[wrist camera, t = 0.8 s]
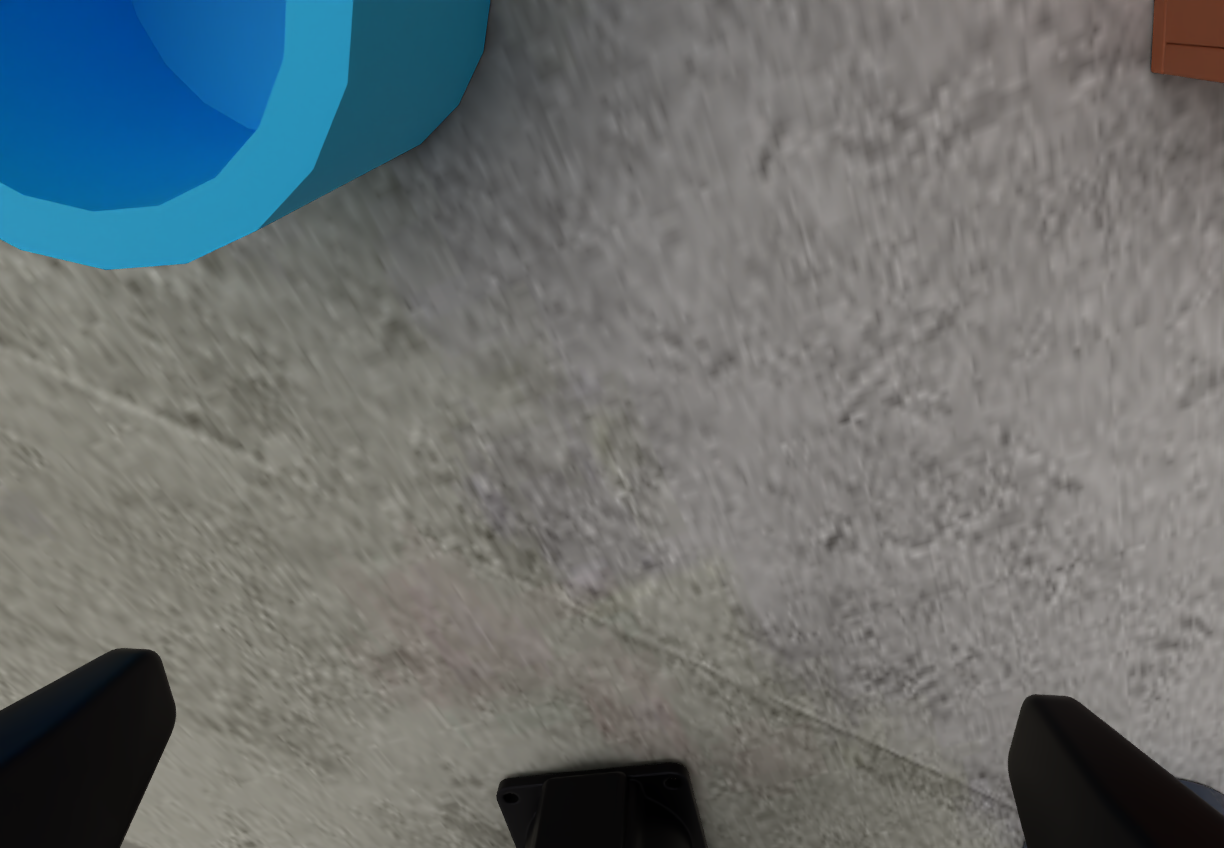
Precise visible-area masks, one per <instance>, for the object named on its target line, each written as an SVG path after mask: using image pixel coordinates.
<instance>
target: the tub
mask: <svg viewBox="0 0 1224 848" xmlns="http://www.w3.org/2000/svg"><path fill="white" fill-rule="evenodd" d="M1151 71H1152V72H1153V73H1159V74H1167V75H1174V76H1181V77H1187V78H1194V79H1201V80H1207V81H1214V82H1220V83H1224V0H1155V1H1154V22H1153V43H1152V64H1151Z"/></svg>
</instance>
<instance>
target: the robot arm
mask: <svg viewBox="0 0 1224 848" xmlns="http://www.w3.org/2000/svg"><path fill="white" fill-rule="evenodd" d="M175 719H176V706H175V702H174V699H173V696H172V693H171V689H170V686H169V683H168V680H167V676H166V673H165V670H164V667H163V663H162V660H161V658H160V656H159V655H158V654H157V653H156V652H155V651H152V650H148V649H130V648H120V649H114V650H111V651H109V652H107V653H105V654H104V655H102V656H100V657H98V658H96V659H94V660H93V661H91V662H89V663H87V664H85V665H83V666H82V667H80V668H78V669H76V670H74V671H72V672H71V673H69V674H67V675H65V676H63V677H61V678H60V679H58V680H56V681H54V682H52V683H50V684H48V685H47V686H45V687H43V688H41V689H39V690H37V691H36V692H34V693H32V694H30V695H28V696H26V697H25V698H23V699H21V700H19V701H17V702H15V703H14V704H12V705H10V706H8V707H6V708H4V709H2V710H1V711H0V848H120V846H121V844H122V842H123V840H124V837H125V835H126V833H127V831H128V829H129V826H130V824H131V822H132V820H133V818H134V815H135V813H136V811H137V809H138V806H139V804H140V802H141V800H142V798H143V795H144V793H145V791H146V789H147V787H148V784H149V782H150V780H151V778H152V775H153V773H154V771H155V769H156V767H157V764H158V762H159V760H160V758H161V756H162V753H163V751H164V749H165V747H166V744H167V742H168V740H169V738H170V736H171V733H172V731H173V728H174V724H175ZM1008 771H1009V778H1010V782H1011V786H1012V790H1013V794H1014V798H1015V802H1016V806H1017V810H1018V814H1019V817H1020V821H1021V825H1022V829H1023V833H1024V837H1025V841H1026V845H1027V848H1224V815H1222V814H1221V813H1220V812H1219V811H1217V810H1216V809H1215V808H1213V807H1212V806H1211V805H1210V804H1208V803H1207V802H1206V801H1205V800H1203V799H1202V798H1201V797H1199V796H1198V795H1197V794H1196V793H1194V792H1193V791H1192V790H1191V789H1189V788H1188V787H1187V786H1185V785H1184V784H1183V783H1182V782H1180V781H1179V780H1178V779H1176V778H1175V777H1174V776H1173V775H1171V774H1170V773H1169V772H1168V771H1166V770H1165V769H1164V768H1162V767H1161V766H1160V765H1159V764H1157V763H1156V762H1155V761H1154V760H1152V759H1151V758H1150V757H1148V756H1147V755H1146V754H1145V753H1143V752H1142V751H1141V750H1140V749H1138V748H1137V747H1136V746H1134V745H1133V744H1132V743H1131V742H1129V741H1128V740H1127V739H1126V738H1124V737H1123V736H1122V735H1120V734H1119V733H1118V732H1117V731H1115V730H1114V729H1113V728H1112V727H1110V726H1109V725H1108V724H1106V723H1105V722H1104V721H1103V720H1101V719H1100V718H1099V717H1098V716H1096V715H1095V714H1094V713H1092V712H1091V711H1090V710H1089V709H1087V708H1086V707H1085V706H1084V705H1082V704H1081V703H1080V702H1078V701H1077V700H1075V699H1073V698H1071V697H1067V696H1056V695H1037V694H1035V695H1031V696H1028V697H1027V698H1026V699H1025V700H1024V702H1023V704H1022V707H1021V710H1020V714H1019V718H1018V721H1017V725H1016V729H1015V732H1014V736H1013V740H1012V743H1011V747H1010V751H1009V756H1008ZM671 778H676V779H671ZM496 796H497V801H498V804H499V806H500V809H501V811H502V813H503V816H504V818H505V821H506V823H507V826H508V828H509V831H510V833H511V836H512V838H513V841H514V843H515V845H516V848H708V845H707V841H706V838H705V834H704V830H703V826H702V822H701V818H700V814H699V811H698V807H697V803H696V799H695V795H694V791H693V788H692V784H691V780H690V776H689V772H688V770H687V769H686V767H684V766H683V765H681V764H678V763H661V764H651V765H640V766H630V767H620V768H609V769H599V770H588V771H578V772H567V773H557V774H547V775H536V776H526V777H515V778H508V779H504V780H503V781H501V782H500V784H499V787H498V791H497V795H496Z"/></svg>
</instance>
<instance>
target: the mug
mask: <svg viewBox="0 0 1224 848" xmlns="http://www.w3.org/2000/svg"><path fill="white" fill-rule="evenodd" d="M489 7H490V0H0V239H1V240H3V241H5V242H7V243H8V244H10V245H12V246H14V247H16V248H18V249H20V250H23V251H28V252H32V253H36V254H41V255H45V256H49V257H53V258H58V259H62V260H66V261H70V262H75V263H79V264H83V265H87V266H92V267H96V268H100V269H104V270H111V269H123V268H136V267H149V266H162V265H174V264H187V263H189V262H191V261H193V260H195V259H197V258H199V257H202V256H204V255H206V254H208V253H210V252H212V251H214V250H216V249H219V248H221V247H223V246H225V245H227V244H229V243H231V242H233V241H236V240H238V239H240V238H242V237H244V236H246V235H248V234H250V233H253V232H255V231H257V230H259V229H261V228H263V227H264V226H266V225H268V224H270V223H272V222H274V221H276V220H278V219H280V218H281V217H283V216H285V215H287V214H289V213H291V212H293V211H295V210H297V209H299V208H300V207H302V206H304V205H306V204H308V203H310V202H312V201H314V200H316V199H318V198H319V197H321V196H323V195H325V194H327V193H329V192H331V191H333V190H335V189H336V188H338V187H340V186H342V185H344V184H346V183H348V182H350V181H352V180H354V179H355V178H357V177H359V176H361V175H363V174H365V173H367V172H369V171H371V170H373V169H374V168H376V167H378V166H380V165H382V164H384V163H386V162H388V161H390V160H391V159H393V158H395V157H397V156H399V155H401V154H403V153H405V152H407V151H409V150H410V149H412V148H414V147H416V146H418V145H420V144H421V143H422V142H423V141H424V140H425V139H426V138H427V137H428V136H429V135H430V134H431V133H432V132H433V131H434V130H435V129H436V128H437V127H438V126H439V125H440V124H441V123H442V122H443V121H444V120H445V118H446V117H447V116H448V115H449V114H450V113H451V112H452V111H453V110H454V109H455V108H456V107H457V106H458V105H459V103H460V101H461V99H462V96H463V94H464V92H465V90H466V88H467V86H468V84H469V81H470V79H471V77H472V75H473V73H474V71H475V69H476V66H477V64H478V62H479V60H480V58H481V56H482V54H483V51H484V44H485V37H486V29H487V22H488V15H489Z"/></svg>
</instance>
